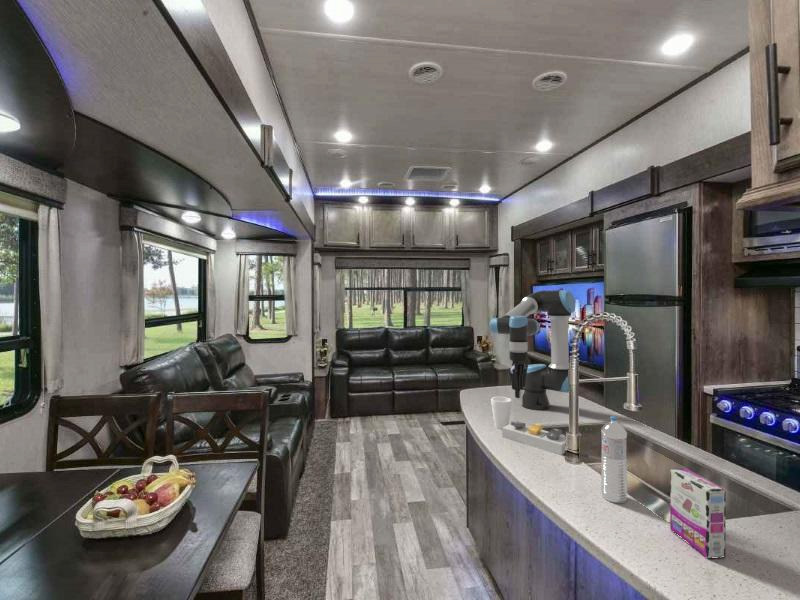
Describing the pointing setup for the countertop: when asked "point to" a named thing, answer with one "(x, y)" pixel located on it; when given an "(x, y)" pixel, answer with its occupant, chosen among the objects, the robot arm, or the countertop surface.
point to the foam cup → (501, 411)
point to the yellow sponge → (535, 428)
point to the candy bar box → (698, 512)
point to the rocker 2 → (554, 433)
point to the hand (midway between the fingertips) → (518, 404)
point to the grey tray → (536, 439)
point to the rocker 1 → (518, 424)
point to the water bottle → (614, 462)
